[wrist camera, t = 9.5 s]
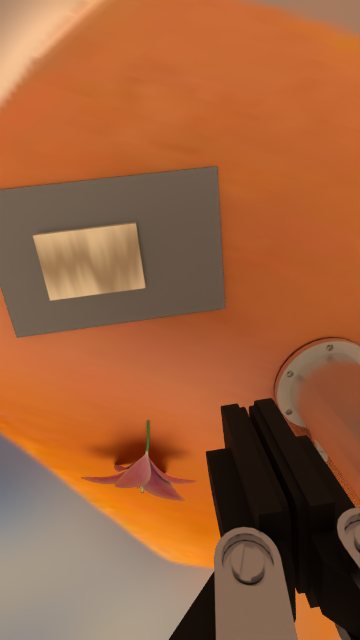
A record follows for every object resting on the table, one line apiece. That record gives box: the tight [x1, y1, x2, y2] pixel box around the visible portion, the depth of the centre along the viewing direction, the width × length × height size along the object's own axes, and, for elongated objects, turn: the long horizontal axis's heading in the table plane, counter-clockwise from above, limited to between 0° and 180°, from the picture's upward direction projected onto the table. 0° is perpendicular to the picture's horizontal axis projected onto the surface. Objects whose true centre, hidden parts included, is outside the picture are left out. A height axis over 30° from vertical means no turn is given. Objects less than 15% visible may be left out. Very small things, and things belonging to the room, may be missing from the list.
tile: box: [33, 222, 145, 301], centre depth 31 cm, size 6×2×9 cm
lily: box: [81, 420, 196, 501], centre depth 38 cm, size 12×12×10 cm
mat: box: [0, 166, 225, 338], centre depth 32 cm, size 14×22×1 cm, turn 96°
